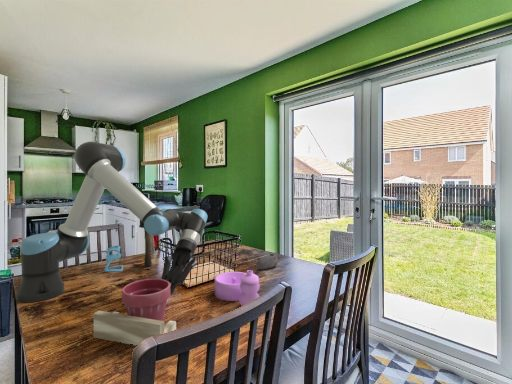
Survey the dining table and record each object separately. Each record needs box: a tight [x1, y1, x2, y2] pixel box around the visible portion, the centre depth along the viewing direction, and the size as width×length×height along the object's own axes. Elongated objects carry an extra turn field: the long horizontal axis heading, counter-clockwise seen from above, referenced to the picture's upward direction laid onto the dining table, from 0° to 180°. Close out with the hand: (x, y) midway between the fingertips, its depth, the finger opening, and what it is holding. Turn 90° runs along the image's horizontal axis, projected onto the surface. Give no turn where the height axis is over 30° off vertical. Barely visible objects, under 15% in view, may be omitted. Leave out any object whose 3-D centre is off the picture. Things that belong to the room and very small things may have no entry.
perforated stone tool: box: [256, 252, 279, 271], centre depth 147 cm, size 15×5×7 cm, turn 132°
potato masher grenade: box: [138, 219, 152, 268], centre depth 148 cm, size 8×9×30 cm
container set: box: [214, 269, 261, 306], centre depth 110 cm, size 25×15×13 cm, turn 30°
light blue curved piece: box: [103, 245, 124, 273], centre depth 141 cm, size 8×8×12 cm
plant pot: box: [121, 278, 171, 321], centre depth 88 cm, size 14×14×13 cm
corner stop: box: [92, 310, 177, 347], centre depth 82 cm, size 8×22×7 cm, turn 75°
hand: (162, 302), depth 95 cm, fingers closed
